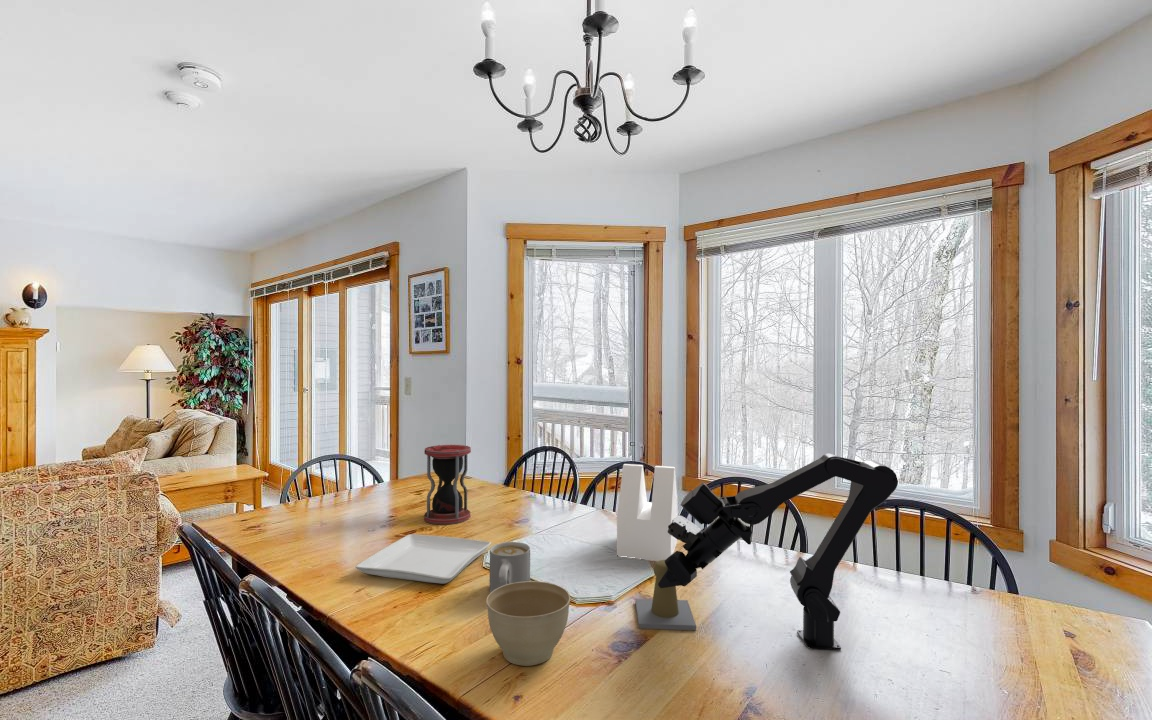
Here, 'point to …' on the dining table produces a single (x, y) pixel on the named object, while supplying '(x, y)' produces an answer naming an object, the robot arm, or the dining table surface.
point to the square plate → (424, 558)
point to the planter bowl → (528, 620)
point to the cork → (663, 595)
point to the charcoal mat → (655, 622)
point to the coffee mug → (509, 564)
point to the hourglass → (447, 484)
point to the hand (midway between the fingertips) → (668, 578)
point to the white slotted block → (646, 514)
